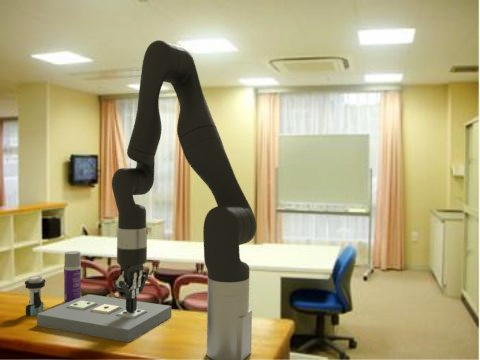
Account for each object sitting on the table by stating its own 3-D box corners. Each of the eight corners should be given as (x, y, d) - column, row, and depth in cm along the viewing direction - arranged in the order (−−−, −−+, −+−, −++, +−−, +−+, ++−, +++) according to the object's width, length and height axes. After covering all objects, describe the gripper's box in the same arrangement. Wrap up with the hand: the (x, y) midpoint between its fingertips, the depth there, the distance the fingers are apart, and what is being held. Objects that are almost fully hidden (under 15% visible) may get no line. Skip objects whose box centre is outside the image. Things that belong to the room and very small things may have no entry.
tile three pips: (145, 319, 123) (145, 309, 123) (134, 325, 118) (134, 315, 118) (129, 317, 125) (129, 307, 125) (117, 322, 120) (117, 312, 120)
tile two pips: (95, 311, 129) (95, 302, 129) (83, 316, 124) (83, 307, 124) (80, 309, 131) (81, 299, 131) (68, 314, 126) (68, 304, 126)
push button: (36, 308, 135) (36, 273, 134) (52, 309, 133) (52, 275, 133) (20, 315, 128) (20, 279, 128) (37, 317, 127) (37, 280, 126)
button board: (171, 316, 129) (171, 306, 129) (128, 342, 110) (128, 329, 110) (88, 304, 139) (88, 294, 139) (36, 325, 120) (36, 314, 120)
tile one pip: (119, 315, 126) (120, 305, 126) (108, 320, 121) (108, 311, 121) (104, 312, 128) (104, 303, 128) (92, 318, 123) (92, 308, 123)
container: (75, 304, 138) (75, 254, 138) (61, 303, 139) (61, 253, 139) (83, 300, 143) (83, 251, 142) (69, 299, 144) (69, 250, 143)
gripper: (129, 250, 113) (128, 321, 114) (158, 242, 126) (157, 306, 126) (103, 248, 116) (103, 317, 117) (134, 240, 128) (133, 302, 129)
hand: (131, 311), depth 122 cm, fingers closed
